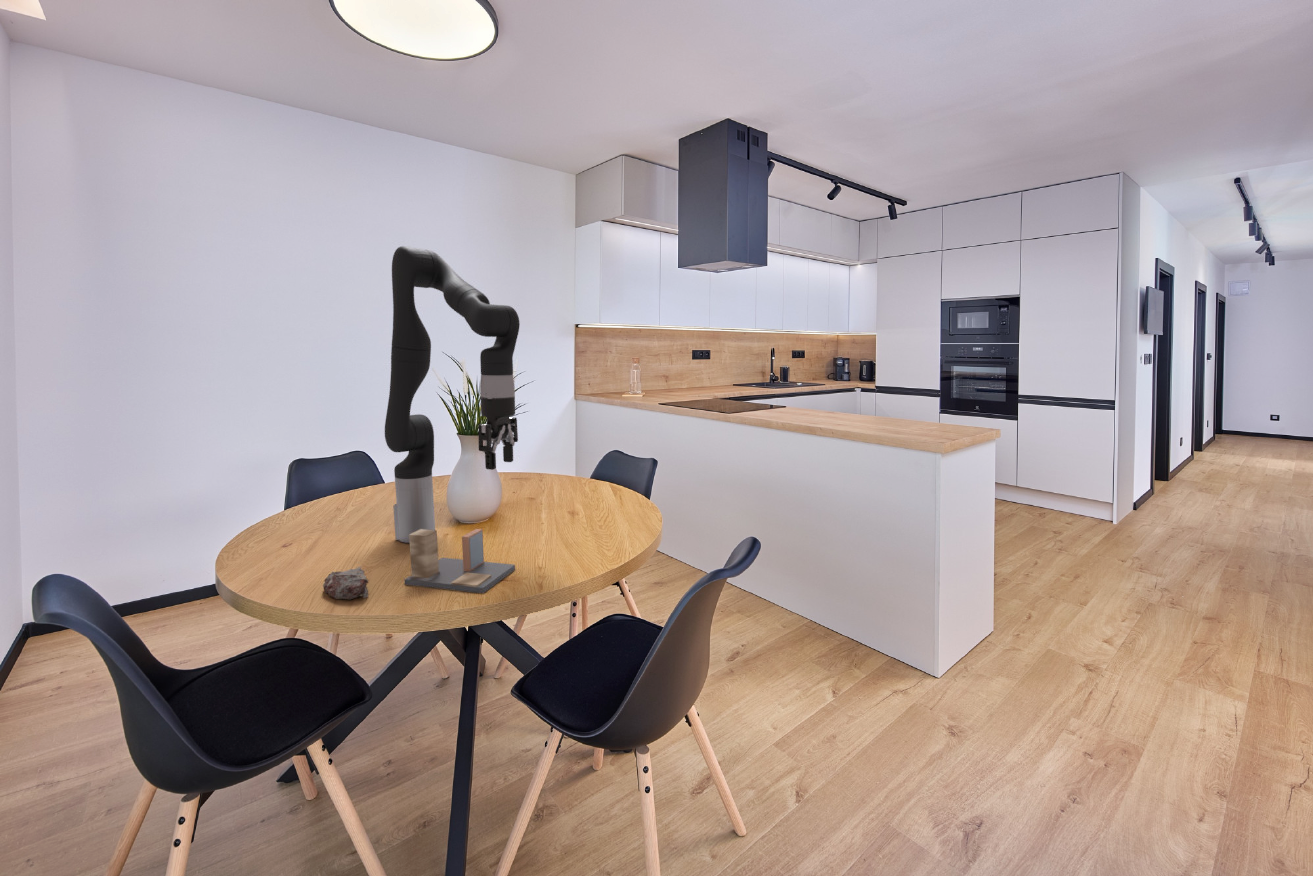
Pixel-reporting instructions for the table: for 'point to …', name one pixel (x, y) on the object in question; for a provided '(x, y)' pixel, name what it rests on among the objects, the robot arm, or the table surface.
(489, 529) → the table surface
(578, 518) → the table surface
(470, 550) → the tile
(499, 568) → the slate board
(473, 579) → the cork pad
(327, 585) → the mineral rock
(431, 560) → the block
